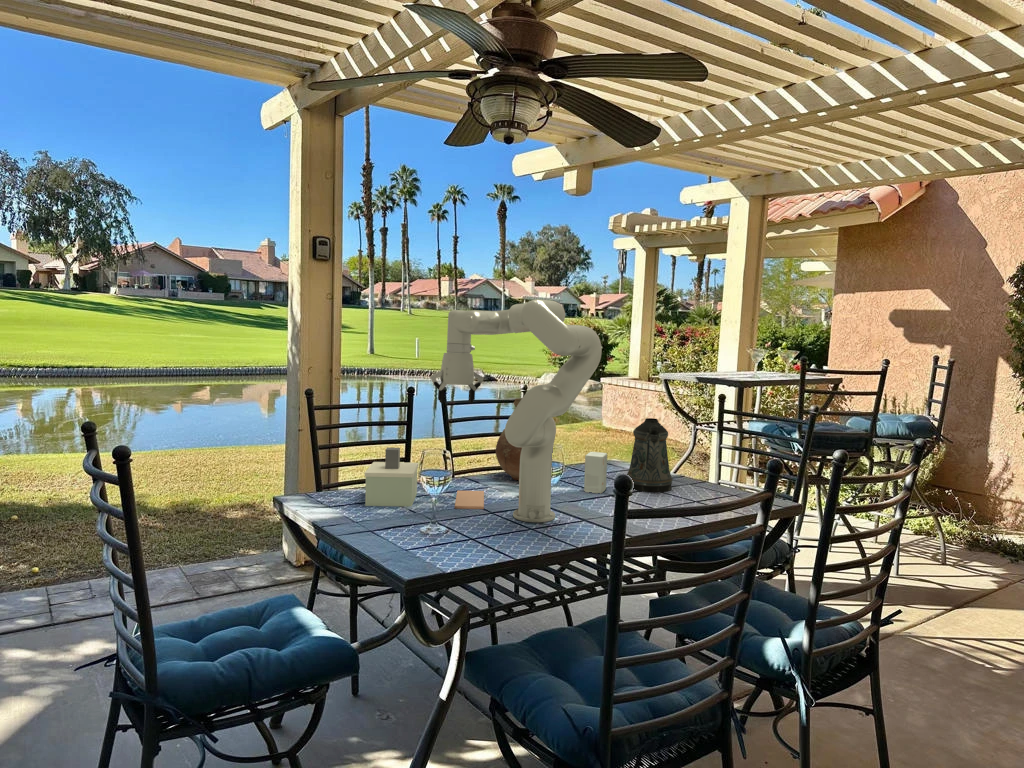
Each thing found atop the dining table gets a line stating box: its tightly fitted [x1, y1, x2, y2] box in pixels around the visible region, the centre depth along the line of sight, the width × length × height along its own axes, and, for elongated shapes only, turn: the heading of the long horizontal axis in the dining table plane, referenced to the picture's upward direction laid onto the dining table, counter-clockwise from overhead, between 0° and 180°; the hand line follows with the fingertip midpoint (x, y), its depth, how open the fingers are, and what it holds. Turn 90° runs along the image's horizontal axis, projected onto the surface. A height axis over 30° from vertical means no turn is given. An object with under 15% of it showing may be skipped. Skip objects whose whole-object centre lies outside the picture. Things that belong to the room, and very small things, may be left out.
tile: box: [453, 490, 485, 510], centre depth 220 cm, size 20×18×1 cm
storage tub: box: [364, 469, 418, 507], centre depth 214 cm, size 16×14×10 cm
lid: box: [364, 446, 419, 478], centre depth 214 cm, size 17×15×8 cm
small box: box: [583, 451, 608, 494], centre depth 238 cm, size 8×6×13 cm
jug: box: [495, 397, 523, 482], centre depth 253 cm, size 22×22×30 cm
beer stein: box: [626, 417, 673, 494], centre depth 243 cm, size 16×19×25 cm
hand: (456, 402), depth 218 cm, fingers open, 9 cm apart
